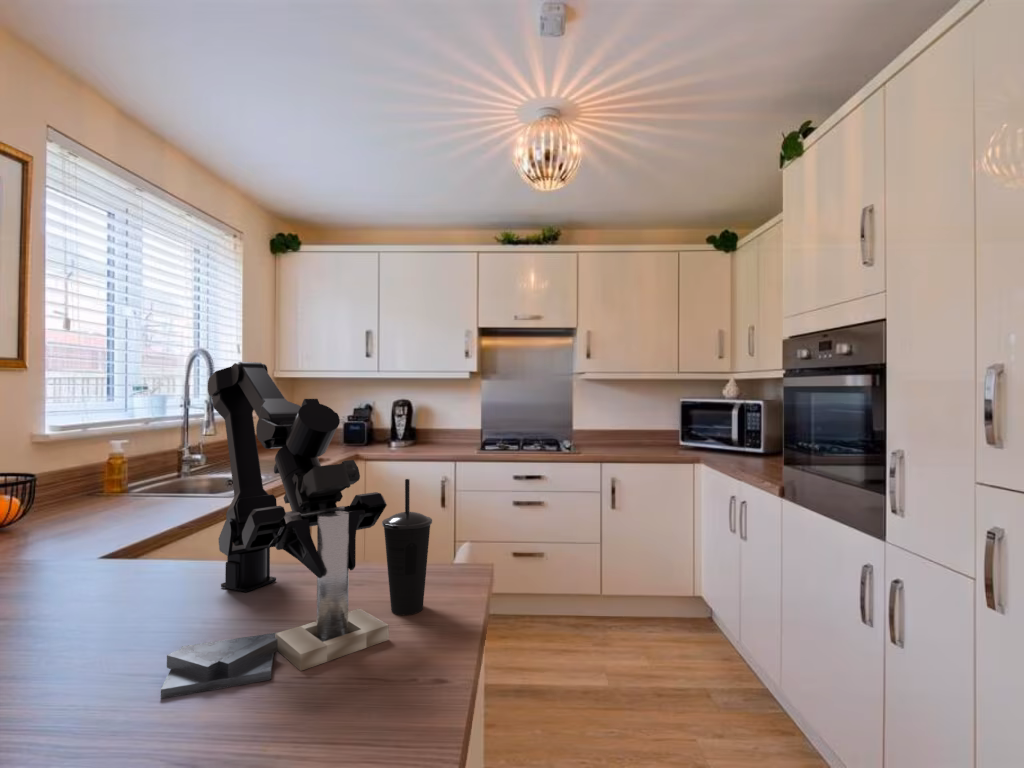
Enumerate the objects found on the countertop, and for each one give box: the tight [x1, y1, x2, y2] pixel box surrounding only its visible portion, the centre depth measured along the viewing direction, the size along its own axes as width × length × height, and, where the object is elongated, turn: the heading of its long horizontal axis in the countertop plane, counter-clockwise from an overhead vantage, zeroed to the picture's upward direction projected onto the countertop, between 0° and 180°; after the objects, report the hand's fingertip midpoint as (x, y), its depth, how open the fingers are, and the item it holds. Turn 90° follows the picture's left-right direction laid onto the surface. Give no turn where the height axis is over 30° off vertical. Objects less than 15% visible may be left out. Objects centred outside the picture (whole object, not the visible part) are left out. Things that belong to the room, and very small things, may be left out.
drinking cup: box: [381, 478, 433, 616], centre depth 85 cm, size 8×8×20 cm
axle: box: [316, 511, 350, 642], centre depth 73 cm, size 4×4×16 cm
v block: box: [160, 632, 279, 699], centre depth 67 cm, size 11×12×2 cm
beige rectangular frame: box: [275, 608, 390, 672], centre depth 73 cm, size 12×8×2 cm, turn 134°
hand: (337, 572), depth 72 cm, fingers closed on axle, 4 cm apart
